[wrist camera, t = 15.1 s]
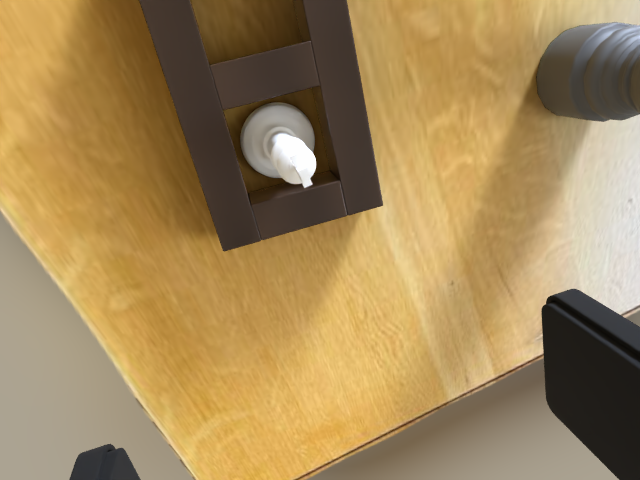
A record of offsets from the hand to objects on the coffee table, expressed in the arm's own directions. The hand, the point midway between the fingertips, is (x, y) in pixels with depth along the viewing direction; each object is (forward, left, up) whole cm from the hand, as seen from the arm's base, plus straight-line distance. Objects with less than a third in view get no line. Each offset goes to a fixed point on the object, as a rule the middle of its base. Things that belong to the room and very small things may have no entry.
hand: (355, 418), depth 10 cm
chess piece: (+2, +2, -24) cm, 24 cm away
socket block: (+2, +6, -24) cm, 25 cm away
